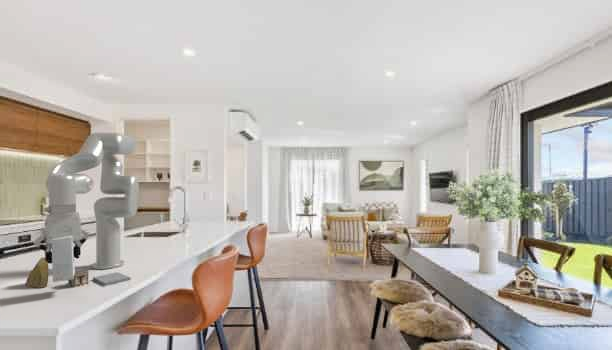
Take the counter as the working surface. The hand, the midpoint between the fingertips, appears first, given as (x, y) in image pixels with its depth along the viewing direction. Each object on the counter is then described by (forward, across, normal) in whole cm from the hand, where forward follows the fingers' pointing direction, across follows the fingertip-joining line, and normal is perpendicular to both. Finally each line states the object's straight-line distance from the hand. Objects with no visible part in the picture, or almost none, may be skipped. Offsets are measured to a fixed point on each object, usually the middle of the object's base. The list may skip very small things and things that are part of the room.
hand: (63, 259), depth 112 cm
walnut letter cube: (+12, +6, +6) cm, 15 cm away
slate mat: (+12, +16, +2) cm, 20 cm away
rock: (+12, -4, +18) cm, 22 cm away
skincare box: (+7, 0, 0) cm, 7 cm away
